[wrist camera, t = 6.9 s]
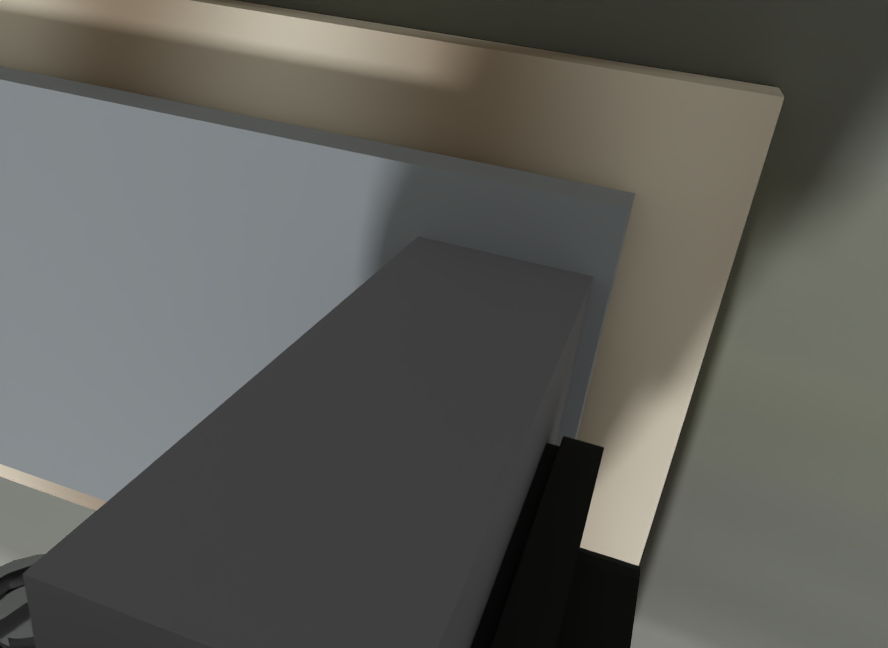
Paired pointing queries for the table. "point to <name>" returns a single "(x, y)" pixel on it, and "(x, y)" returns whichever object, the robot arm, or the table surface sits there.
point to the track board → (487, 141)
